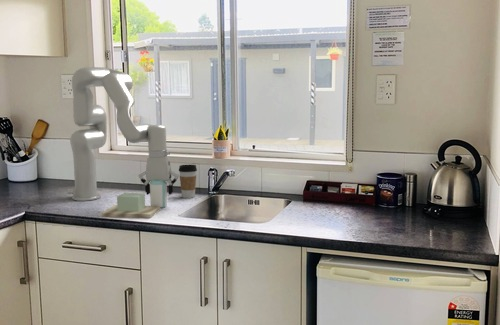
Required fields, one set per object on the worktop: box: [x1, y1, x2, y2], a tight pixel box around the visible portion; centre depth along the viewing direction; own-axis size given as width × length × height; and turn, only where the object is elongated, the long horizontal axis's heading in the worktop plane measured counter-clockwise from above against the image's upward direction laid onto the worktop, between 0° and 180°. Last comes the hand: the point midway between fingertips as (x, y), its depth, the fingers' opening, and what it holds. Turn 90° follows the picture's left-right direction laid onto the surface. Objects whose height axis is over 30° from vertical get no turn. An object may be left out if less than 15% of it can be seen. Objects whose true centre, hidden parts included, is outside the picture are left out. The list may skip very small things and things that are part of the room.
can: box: [149, 180, 168, 209], centre depth 234 cm, size 7×7×12 cm
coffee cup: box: [178, 164, 198, 199], centre depth 254 cm, size 8×8×15 cm
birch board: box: [101, 204, 161, 219], centre depth 224 cm, size 20×14×2 cm
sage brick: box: [116, 192, 146, 212], centre depth 224 cm, size 9×7×6 cm
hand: (159, 194), depth 234 cm, fingers open, 9 cm apart
